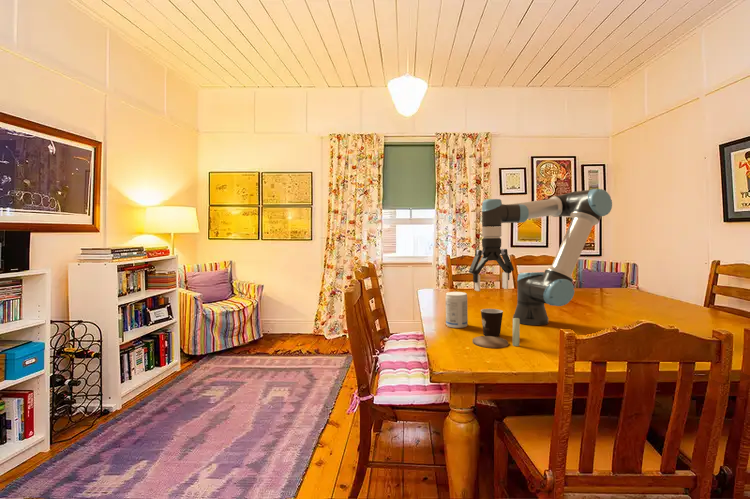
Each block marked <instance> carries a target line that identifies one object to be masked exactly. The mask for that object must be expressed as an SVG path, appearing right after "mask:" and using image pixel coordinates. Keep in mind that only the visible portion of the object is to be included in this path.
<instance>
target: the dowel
mask: <svg viewBox="0 0 750 499" xmlns="http://www.w3.org/2000/svg"><path fill="white" fill-rule="evenodd" d="M520 326H521V324H520V319H519V318H513V317H512V346H513V347H519V346H520V332H521V331H520V330H521V328H520Z"/></svg>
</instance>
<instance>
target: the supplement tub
mask: <svg viewBox="0 0 750 499" xmlns="http://www.w3.org/2000/svg"><path fill="white" fill-rule="evenodd" d="M468 316H469V315H468V294H467V293H466V292H464V291H463V292H462V291H449V292H446V293H445V325H446V326H447V327H448V328H451V329H452V328H454V329H462V328H463V329H464V328H467V326H468V325H469V324H468V320H469V318H468Z"/></svg>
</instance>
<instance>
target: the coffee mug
mask: <svg viewBox="0 0 750 499" xmlns="http://www.w3.org/2000/svg"><path fill="white" fill-rule="evenodd" d="M480 314H481V324H482V332H483V333H482V334H483V336H493V337H499V338H500V336H501V329H502V322H503V316H504V315H503V314H504V311H503V310H502V309H497V308H482V309H480Z"/></svg>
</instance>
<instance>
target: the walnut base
mask: <svg viewBox="0 0 750 499" xmlns="http://www.w3.org/2000/svg"><path fill="white" fill-rule="evenodd" d="M472 344H473V345H475V346H477V347H482V348H487V349H502V348H506V347H508V346H509V341H508V340H507V339H505V338H502V337H500V336H499V337H493V336H484V335H483V336H482V335H480V336H476V337H474V338H473V337H472Z"/></svg>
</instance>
